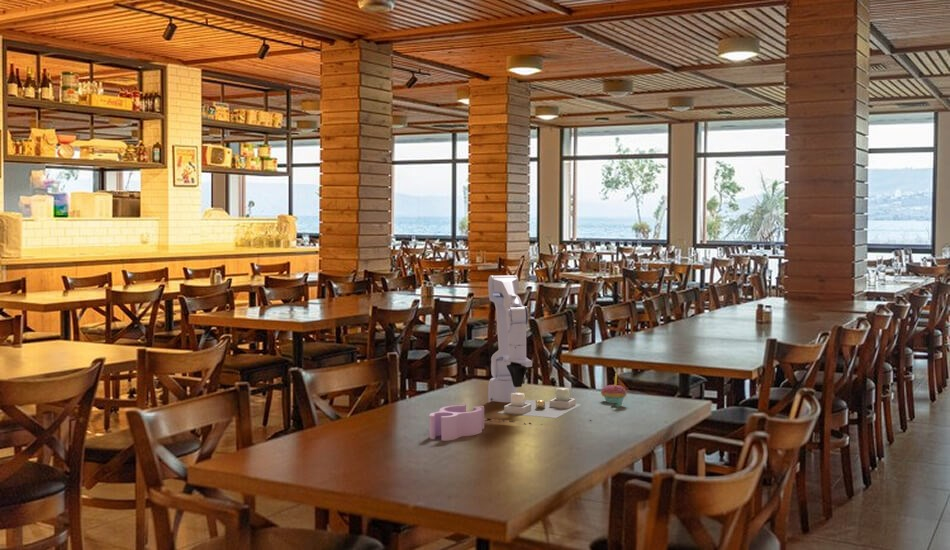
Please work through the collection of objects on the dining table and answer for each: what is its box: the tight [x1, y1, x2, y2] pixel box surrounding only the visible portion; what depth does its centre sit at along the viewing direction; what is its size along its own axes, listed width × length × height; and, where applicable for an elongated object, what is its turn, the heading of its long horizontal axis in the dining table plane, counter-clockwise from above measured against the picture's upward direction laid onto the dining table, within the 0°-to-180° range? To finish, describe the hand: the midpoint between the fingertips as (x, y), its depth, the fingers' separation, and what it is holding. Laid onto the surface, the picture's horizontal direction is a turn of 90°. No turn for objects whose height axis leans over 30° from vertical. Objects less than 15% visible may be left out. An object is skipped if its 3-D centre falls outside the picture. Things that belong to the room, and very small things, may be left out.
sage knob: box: [555, 387, 570, 401], centre depth 325 cm, size 4×4×4 cm
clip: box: [428, 403, 485, 442], centre depth 293 cm, size 20×12×7 cm, turn 148°
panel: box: [497, 397, 582, 419], centre depth 321 cm, size 20×24×4 cm
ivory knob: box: [510, 392, 526, 406], centre depth 317 cm, size 4×4×4 cm
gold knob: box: [535, 399, 546, 409], centre depth 321 cm, size 3×3×2 cm
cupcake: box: [600, 370, 627, 408], centre depth 332 cm, size 9×8×12 cm
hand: (517, 386), depth 317 cm, fingers closed
